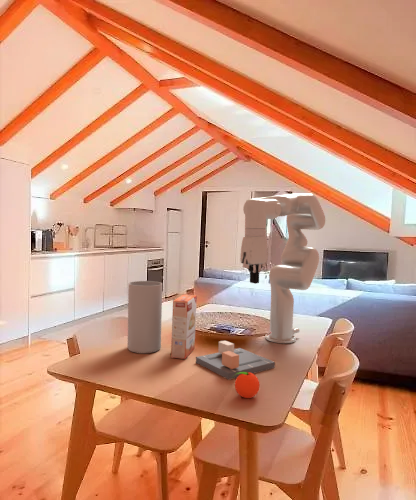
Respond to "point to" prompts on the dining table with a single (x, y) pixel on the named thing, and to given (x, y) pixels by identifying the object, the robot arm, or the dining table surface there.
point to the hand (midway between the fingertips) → (254, 282)
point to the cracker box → (183, 326)
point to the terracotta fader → (230, 359)
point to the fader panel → (246, 363)
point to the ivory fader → (225, 347)
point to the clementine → (247, 384)
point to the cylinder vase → (144, 316)
